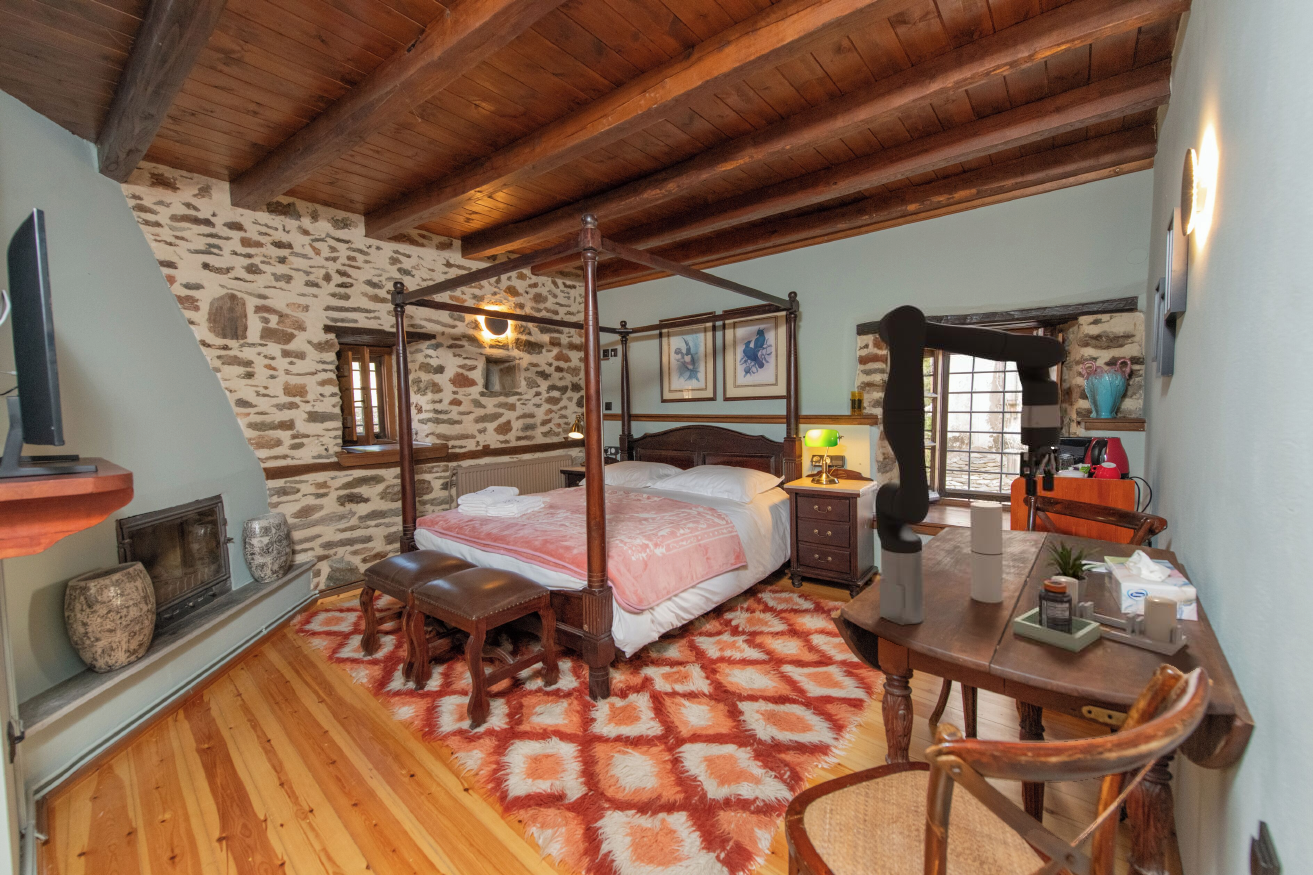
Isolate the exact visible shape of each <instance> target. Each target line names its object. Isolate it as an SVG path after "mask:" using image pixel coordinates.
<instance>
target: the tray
mask: <svg viewBox="0 0 1313 875" xmlns="http://www.w3.org/2000/svg"><path fill="white" fill-rule="evenodd" d="M1100 627H1101V622H1097V621H1089V620H1085V619H1082V618H1078V617H1074V616H1072V635H1070V634H1067V633H1063V632H1060V631H1056V630H1053V629H1049V628H1046V627H1042V626H1039V606H1037V607H1035V608H1033V609H1032V610H1030V611H1027V612H1025V613H1023V614H1022V615H1020V616H1017V617H1016V618H1014V619H1013V620H1012V633H1013V634H1016V635H1019V636H1022V637H1025V638H1029V639H1032V640H1035V641H1039V642H1041V643H1046V644H1049V645H1050V646H1051V645H1052V646H1054V647H1057V648H1061V649H1064V650H1068V651H1071V652H1073V653H1078V652H1080V651H1081V650H1083V649H1084V648H1086V647H1087V646H1089V645H1090V644H1092V643H1093V642H1094V641H1096V640H1098V639H1100V637H1101V636H1100Z"/></svg>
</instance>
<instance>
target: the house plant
mask: <svg viewBox="0 0 1313 875" xmlns="http://www.w3.org/2000/svg"><path fill="white" fill-rule="evenodd" d="M1041 538H1043V539H1045V540H1046V541H1048V542H1049V543H1050V544H1051V546H1052V547H1051V546H1050V545H1048V544H1045V543H1043V546H1042V548H1043V549H1045V550H1047V551H1048V552H1049V553H1050V554H1051V555H1052V556H1050V557H1048V558H1047V559H1050V560H1051V562H1048V563H1047V564H1046V565H1045V569H1046V568H1048V567H1051V566H1053V568H1055V569H1056V570H1057V571H1056V572H1053V573H1052V577H1054V576H1065V577H1070V578H1074V579H1076V580H1078V604H1080V603H1082V602H1084V596H1085V592H1086V588H1087V584H1088V577H1087V576H1085V575H1083V574H1084V573H1085V572H1086V571H1088V570H1090V569H1098V567H1096V566H1097V563H1089V562H1086V563H1085V562H1084V563H1083V561H1084V560H1086V558H1088V557H1089V556H1091V554H1092V555H1093V553H1094V552H1096V551H1098V550H1101V549H1103V547H1098V548H1095V549H1092V550H1091V551H1090V552H1087V551H1084V550H1085V547H1086V544H1083V546H1082V548H1080V550H1079V553H1078V554H1077V555H1076V556H1075V557H1073V558H1072V552H1073V548H1074V547H1075V546H1076V545H1077V544H1076V543H1075V544H1074V545H1073V544H1071V546H1070V547H1069V549H1068V548H1067V546H1066V545H1065V543H1064V542H1063V540H1062V539H1061V538H1059V537H1058V539H1057V540H1058V541H1059V543H1060V548H1061V550H1058V549H1057V546H1055V544H1054V543H1053V542H1052V541H1051V540H1049V539H1048V538H1046V537H1043V536H1041ZM1075 540H1076V538H1074V540H1073V541H1075ZM1037 544H1039V545H1040V544H1041V543H1037ZM1044 546H1047V547H1049V549H1051V550H1049V549H1048V548H1047V547H1044ZM1052 551H1053V552H1054V553H1055V554H1056V556H1057V557H1058V558H1057V557H1056V556H1055V555H1054V554H1053V552H1052ZM1086 553H1087V554H1086ZM1071 559H1072V560H1071ZM1038 560H1040V561H1042V559H1038ZM1043 561H1045V562H1046V560H1045V559H1043ZM1093 565H1094V566H1093ZM1055 566H1058V568H1059V569H1060V570H1059V569H1058V568H1057V567H1055ZM1087 566H1090V567H1088V568H1086V569H1084V567H1087Z"/></svg>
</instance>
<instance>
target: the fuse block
mask: <svg viewBox="0 0 1313 875" xmlns="http://www.w3.org/2000/svg"><path fill="white" fill-rule="evenodd" d="M1051 580H1055V581H1060V582H1063V583H1065V584H1066V586H1067V590H1066V592H1067V593H1069V594H1070V595H1071V597H1072V616H1074V617H1078V618H1082V619H1085V620H1089V621H1093V622H1097V623H1100V624H1105V625H1109V626H1113V627H1116V628H1120V629H1125V630H1126V632H1125V634H1124V633H1120V632H1117V631H1113V630H1112V629H1109V628H1105V627H1102V626H1100V637H1103V638H1106V639H1110V640H1114V641H1118V642H1119V643H1124V644H1128V645H1132V646H1134V647H1139V648H1142V649H1146V650H1149V651H1153V652H1157V653H1159V654H1163V655H1164V654H1165V655H1167V656H1174V655H1175V654H1176V653H1177V652H1178V651H1179V650H1181V649H1182V648H1183V647H1184V646H1185V645H1186V644H1187V636H1186V635H1183V625H1180V624H1178V621H1177V620H1178V618H1177V616H1178V602H1177V601H1176V600H1174V599H1172V598H1169V597H1164V596H1156V595H1146V596H1144V597H1143V615H1141V616H1139V617H1138V612H1136V611H1132V612H1130V613H1128V614H1127V615H1126V616H1125V618H1126V619H1125V620H1123V619H1118V618H1113V617H1111V616H1106V615H1102V614H1097V613H1095V612H1094V609H1095V608H1094V607H1095V606H1094V604H1095V603H1094V602H1092V601H1088V602H1084V601H1083V602H1082V603H1078V580H1076V579H1074V578H1070V577H1065V576H1054V577H1053V576H1051Z"/></svg>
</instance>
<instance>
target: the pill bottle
mask: <svg viewBox="0 0 1313 875" xmlns="http://www.w3.org/2000/svg"><path fill="white" fill-rule="evenodd" d="M1066 590H1067V586H1066V584H1065V583H1063V582H1060V581H1055V580H1052V579H1051V580H1045V581H1043V589H1041V590H1040V591H1039V592H1038V607H1039V626H1042V627H1046V628H1049V629H1053V630H1056V631H1060V632H1063V633H1067V634H1070V635H1072V597H1071V595H1070V594H1069V593H1067V592H1066Z"/></svg>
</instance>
